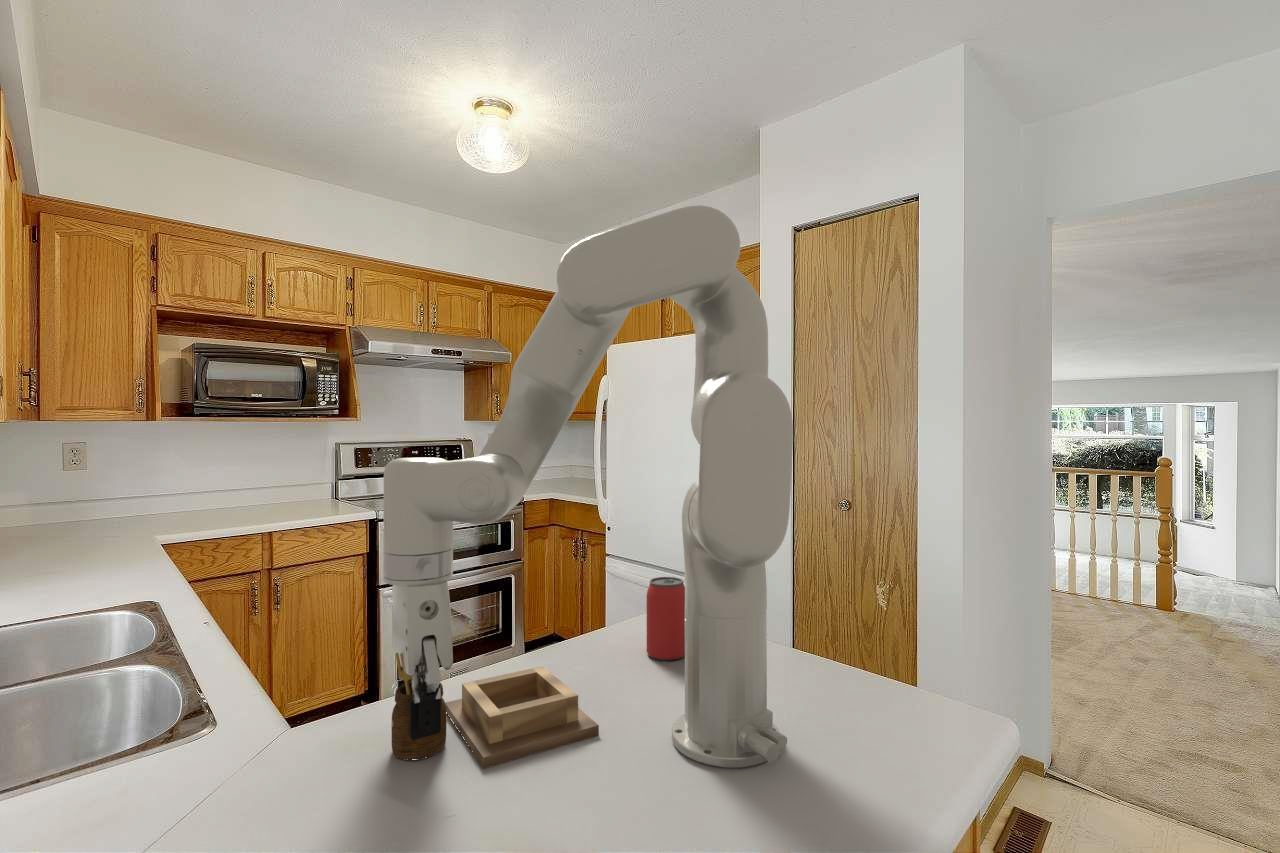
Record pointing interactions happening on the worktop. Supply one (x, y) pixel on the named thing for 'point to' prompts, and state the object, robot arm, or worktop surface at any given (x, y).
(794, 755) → the worktop surface
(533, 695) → the socket board
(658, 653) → the beer can
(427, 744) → the utensil holder
